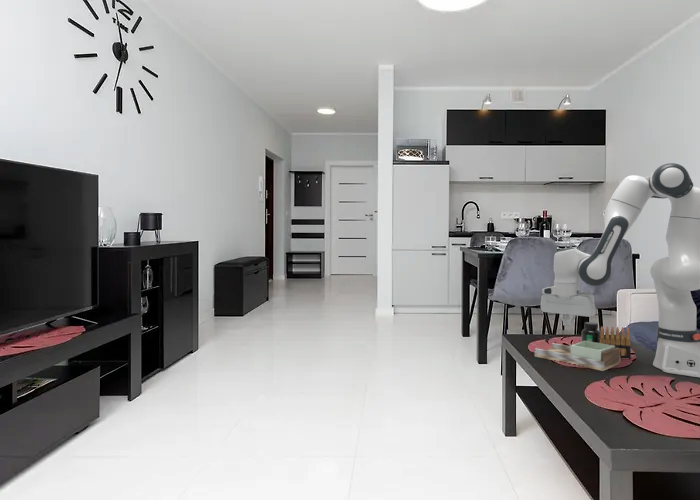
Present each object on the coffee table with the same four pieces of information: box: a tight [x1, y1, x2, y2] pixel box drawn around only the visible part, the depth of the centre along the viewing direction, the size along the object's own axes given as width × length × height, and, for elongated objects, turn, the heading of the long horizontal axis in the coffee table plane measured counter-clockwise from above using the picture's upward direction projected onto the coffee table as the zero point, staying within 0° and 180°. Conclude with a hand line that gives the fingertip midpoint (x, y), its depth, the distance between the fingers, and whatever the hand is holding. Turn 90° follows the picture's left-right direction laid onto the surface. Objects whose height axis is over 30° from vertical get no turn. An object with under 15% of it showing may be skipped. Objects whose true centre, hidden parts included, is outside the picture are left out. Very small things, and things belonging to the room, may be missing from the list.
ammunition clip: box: [599, 325, 632, 360], centre depth 185 cm, size 11×2×12 cm, turn 70°
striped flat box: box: [534, 342, 622, 372], centre depth 182 cm, size 26×14×6 cm, turn 38°
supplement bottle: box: [581, 321, 600, 343], centre depth 192 cm, size 7×7×12 cm
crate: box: [570, 340, 615, 361], centre depth 177 cm, size 11×11×5 cm
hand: (567, 325), depth 185 cm, fingers closed
